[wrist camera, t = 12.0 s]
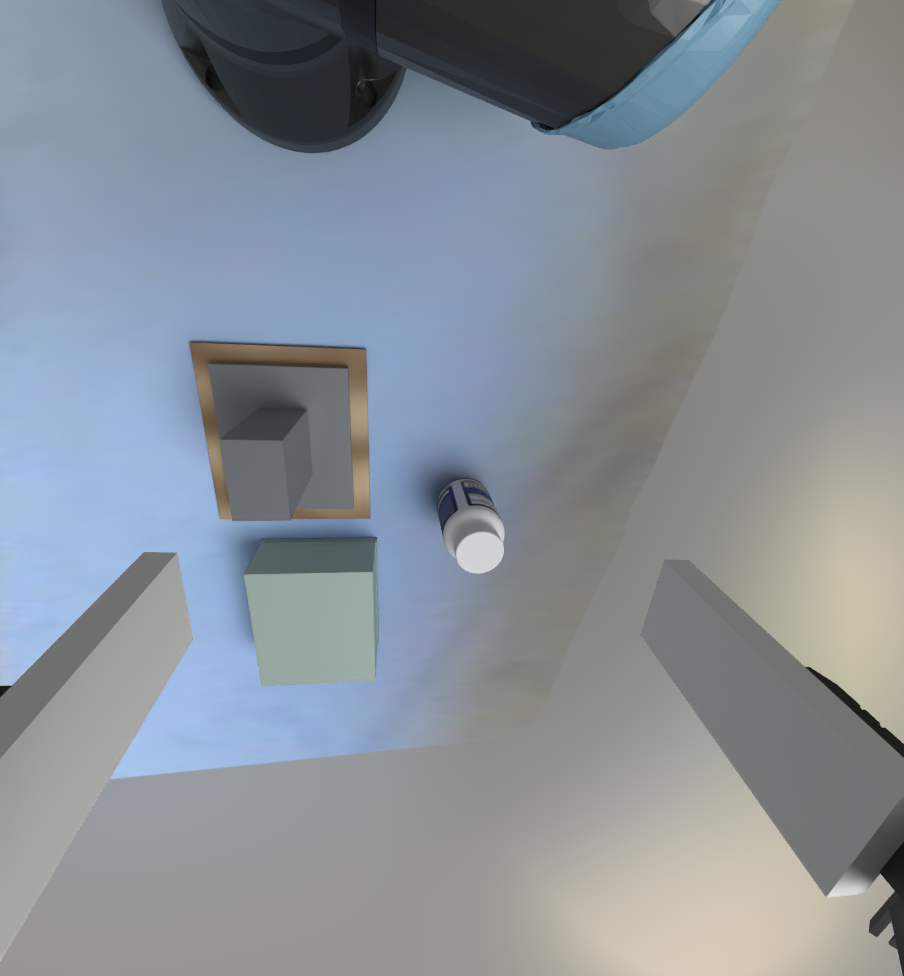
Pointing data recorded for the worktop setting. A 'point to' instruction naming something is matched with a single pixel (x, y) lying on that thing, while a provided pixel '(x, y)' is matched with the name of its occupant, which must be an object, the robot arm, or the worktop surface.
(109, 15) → the worktop surface
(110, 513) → the worktop surface
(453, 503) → the pill bottle
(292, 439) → the lid
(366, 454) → the plate
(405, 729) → the worktop surface
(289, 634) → the sage green block
